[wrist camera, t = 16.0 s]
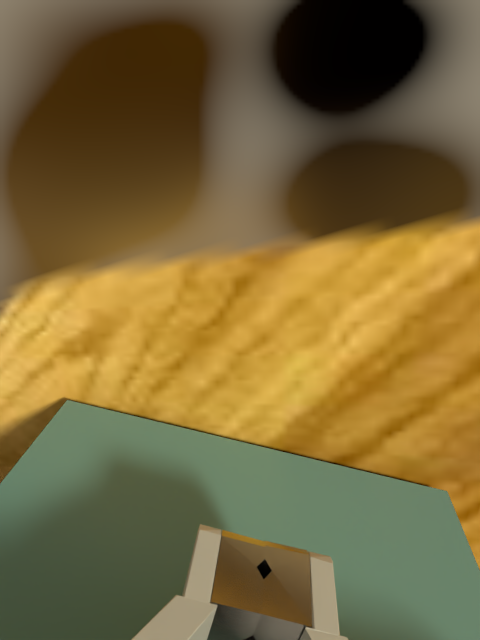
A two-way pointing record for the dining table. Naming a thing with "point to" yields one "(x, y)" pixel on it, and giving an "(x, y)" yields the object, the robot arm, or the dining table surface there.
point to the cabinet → (218, 512)
